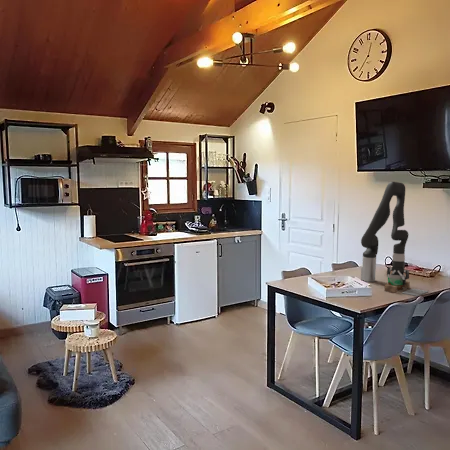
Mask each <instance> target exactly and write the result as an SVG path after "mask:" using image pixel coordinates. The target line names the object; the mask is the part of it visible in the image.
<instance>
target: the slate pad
mask: <svg viewBox="0 0 450 450" xmlns="http://www.w3.org/2000/svg"><path fill="white" fill-rule="evenodd" d="M427 293H429V290H423V289H417V288H414V287H413V288H410V289H407V290H404V291H402V292H401V295H402V294H404V295H407V296H411V297H419V296H423V295H424V294H427Z"/></svg>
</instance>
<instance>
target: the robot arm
mask: <svg viewBox="0 0 450 450" xmlns="http://www.w3.org/2000/svg"><path fill="white" fill-rule="evenodd" d="M394 196H395V197H396V204H395V207H394V209H393V212H392V229H391V232H390V233H391V234H390V237H391V239H392V241H400V242H399V243H395V244H393V251H392V252H393V253H392V263H391V266H392V267H391V266H387V267H386V268H387V271H386V276H387V275H388V274H389V275H400V276H401V277H402V278H403V282H402V285H405V284H406V281H407V280H409V279H410V270H409V269H405V263H406V262H405V260H406V259H405V258H406V257H405V256H406V255H405V251H406V250H405V249H406V245H407V242H408V239H409V232H408V230H406V229H399V228H401V227H404V226H405V201H406V200H405V199H406V185H405V183H403V182H398V181H389V182H388V183H387V185H386V187H385V190H384V193H383V195H382V198H381V200H380V202H379V205H378V207H377V209H376V210H375V213H374V214H373V217H372V219H371V221H370V223H369V225H368V227H367V228H366V230H365V232H364V234H363V236H361V239H360V243H361V247H363V248H366V249H365V250H364V252H362V265H361V266H360V267H361V268H360V281H363V280H364V281H363V282H366V283H367V282H368V283H369V282H370V283H372V282H373V283H374V282H376V272H377V271H376V269H377V255H378V252H379V237H378V236H377V235H376V234H378V232H379V230H380V229H381V228H383V227H384V226H385V224H386V223H387V221H388V219H389V218H390V215H391V208H390V207H391V205H390V204H391V201H392V198H393V197H394ZM391 271H392V272H391Z"/></svg>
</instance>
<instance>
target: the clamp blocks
mask: <svg viewBox="0 0 450 450" xmlns="http://www.w3.org/2000/svg"><path fill="white" fill-rule="evenodd" d="M410 286H411V284H410V281H407V280H406V284H405V285H402V289H409V288H410ZM410 289H411V288H410ZM384 292H387V293H393V294H396V293H397V292H398V290H397V286H394V285H388V283H387V284H384Z"/></svg>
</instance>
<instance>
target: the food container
mask: <svg viewBox="0 0 450 450" xmlns="http://www.w3.org/2000/svg"><path fill="white" fill-rule="evenodd" d="M386 278H387V284H388V285H394V286H397V291H401V290H403V287H402V282H403V278H402V277H401V276H400V275H391V274H390V275H389V274H388V275H387V274H386Z"/></svg>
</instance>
